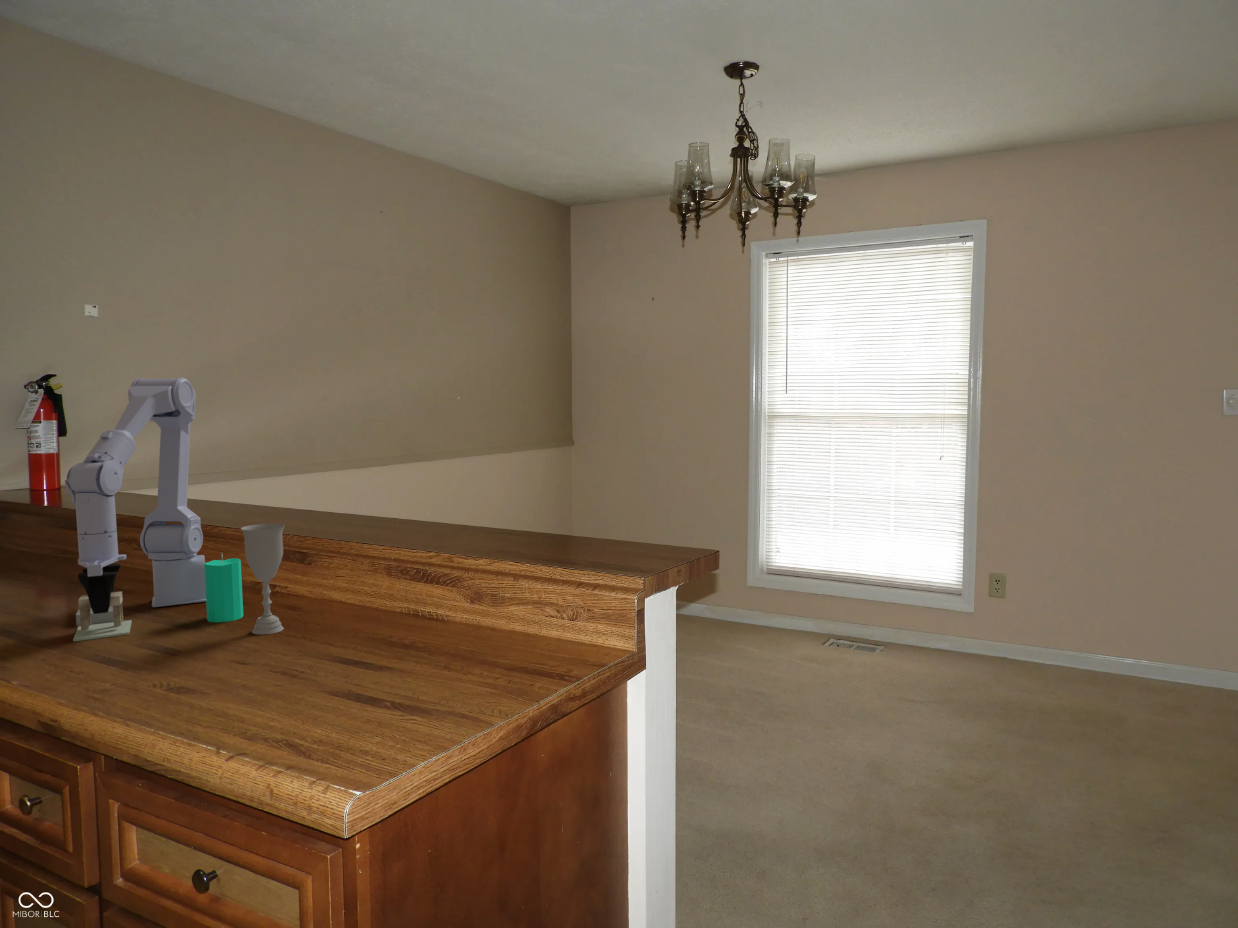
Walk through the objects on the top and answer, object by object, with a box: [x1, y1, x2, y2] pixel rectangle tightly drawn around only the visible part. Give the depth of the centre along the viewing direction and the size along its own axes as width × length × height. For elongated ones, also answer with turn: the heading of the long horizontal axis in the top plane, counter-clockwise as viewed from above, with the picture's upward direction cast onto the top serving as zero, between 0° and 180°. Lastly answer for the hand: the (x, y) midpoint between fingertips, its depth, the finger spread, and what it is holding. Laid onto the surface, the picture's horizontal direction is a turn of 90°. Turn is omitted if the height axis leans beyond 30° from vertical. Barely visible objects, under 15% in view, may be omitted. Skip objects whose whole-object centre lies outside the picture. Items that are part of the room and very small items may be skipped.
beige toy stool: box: [77, 591, 124, 630], centre depth 142 cm, size 6×4×5 cm, turn 116°
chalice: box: [240, 523, 286, 635], centre depth 142 cm, size 7×7×18 cm
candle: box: [204, 552, 244, 623], centre depth 150 cm, size 6×6×12 cm
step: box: [75, 606, 114, 627], centre depth 151 cm, size 6×7×2 cm
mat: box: [72, 619, 133, 642], centre depth 143 cm, size 8×9×1 cm
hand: (102, 609), depth 143 cm, fingers closed on beige toy stool, 4 cm apart
